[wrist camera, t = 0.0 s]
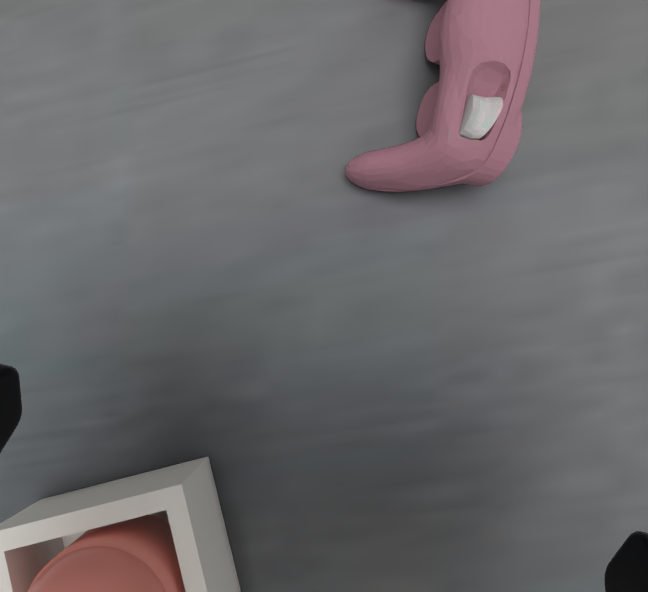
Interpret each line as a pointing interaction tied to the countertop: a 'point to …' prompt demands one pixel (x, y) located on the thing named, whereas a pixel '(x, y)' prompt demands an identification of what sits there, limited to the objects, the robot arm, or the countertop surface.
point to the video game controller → (463, 100)
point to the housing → (119, 505)
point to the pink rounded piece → (116, 560)
